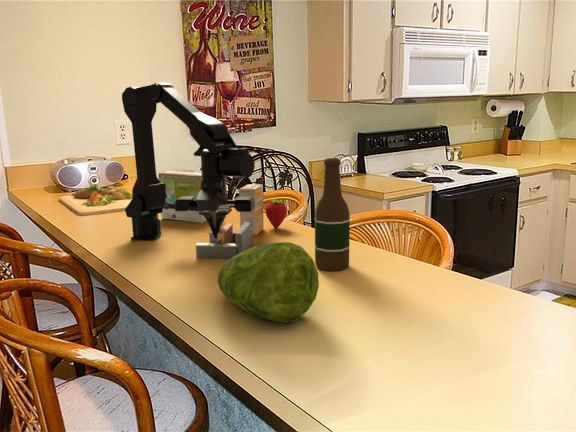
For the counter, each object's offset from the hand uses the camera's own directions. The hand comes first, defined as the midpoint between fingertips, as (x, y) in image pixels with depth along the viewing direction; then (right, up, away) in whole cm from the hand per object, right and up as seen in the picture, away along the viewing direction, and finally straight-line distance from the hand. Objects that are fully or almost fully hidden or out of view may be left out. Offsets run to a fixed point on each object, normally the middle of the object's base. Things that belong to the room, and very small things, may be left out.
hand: (216, 238), depth 135 cm
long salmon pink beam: (+2, -3, -1) cm, 4 cm away
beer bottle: (+27, -6, -13) cm, 31 cm away
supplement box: (+8, +1, +18) cm, 19 cm away
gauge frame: (+2, -3, +1) cm, 4 cm away
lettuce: (+12, -12, -36) cm, 40 cm away
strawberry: (+14, +2, +22) cm, 26 cm away
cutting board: (-49, +9, +62) cm, 79 cm away
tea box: (-13, +5, +37) cm, 39 cm away
